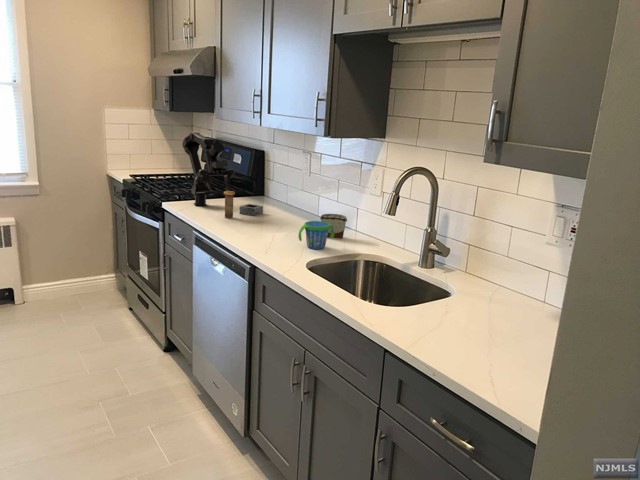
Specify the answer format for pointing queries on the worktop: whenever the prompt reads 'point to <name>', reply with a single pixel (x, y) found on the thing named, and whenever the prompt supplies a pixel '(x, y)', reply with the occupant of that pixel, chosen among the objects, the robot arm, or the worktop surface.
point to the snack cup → (316, 234)
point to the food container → (335, 224)
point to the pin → (229, 204)
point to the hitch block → (251, 209)
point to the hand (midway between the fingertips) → (219, 189)
